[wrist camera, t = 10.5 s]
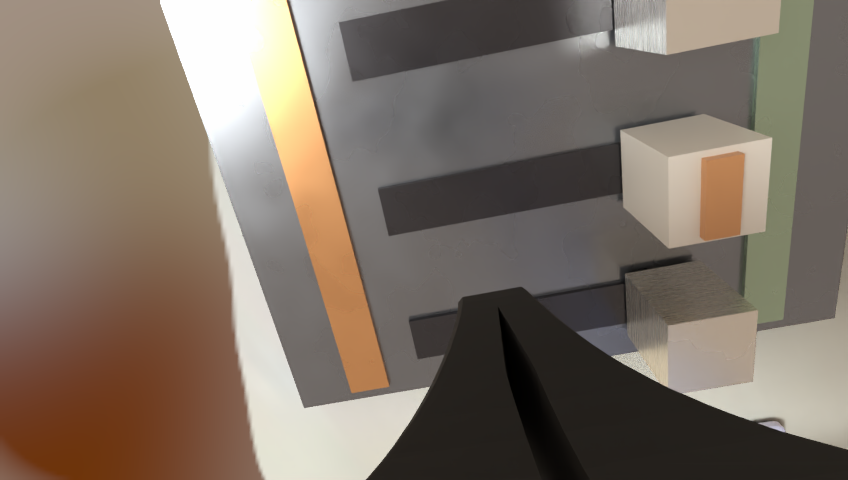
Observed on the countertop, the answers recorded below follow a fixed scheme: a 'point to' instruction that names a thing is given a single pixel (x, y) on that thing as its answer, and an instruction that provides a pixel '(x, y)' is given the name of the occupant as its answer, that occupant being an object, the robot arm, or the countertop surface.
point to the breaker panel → (514, 172)
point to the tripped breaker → (696, 179)
